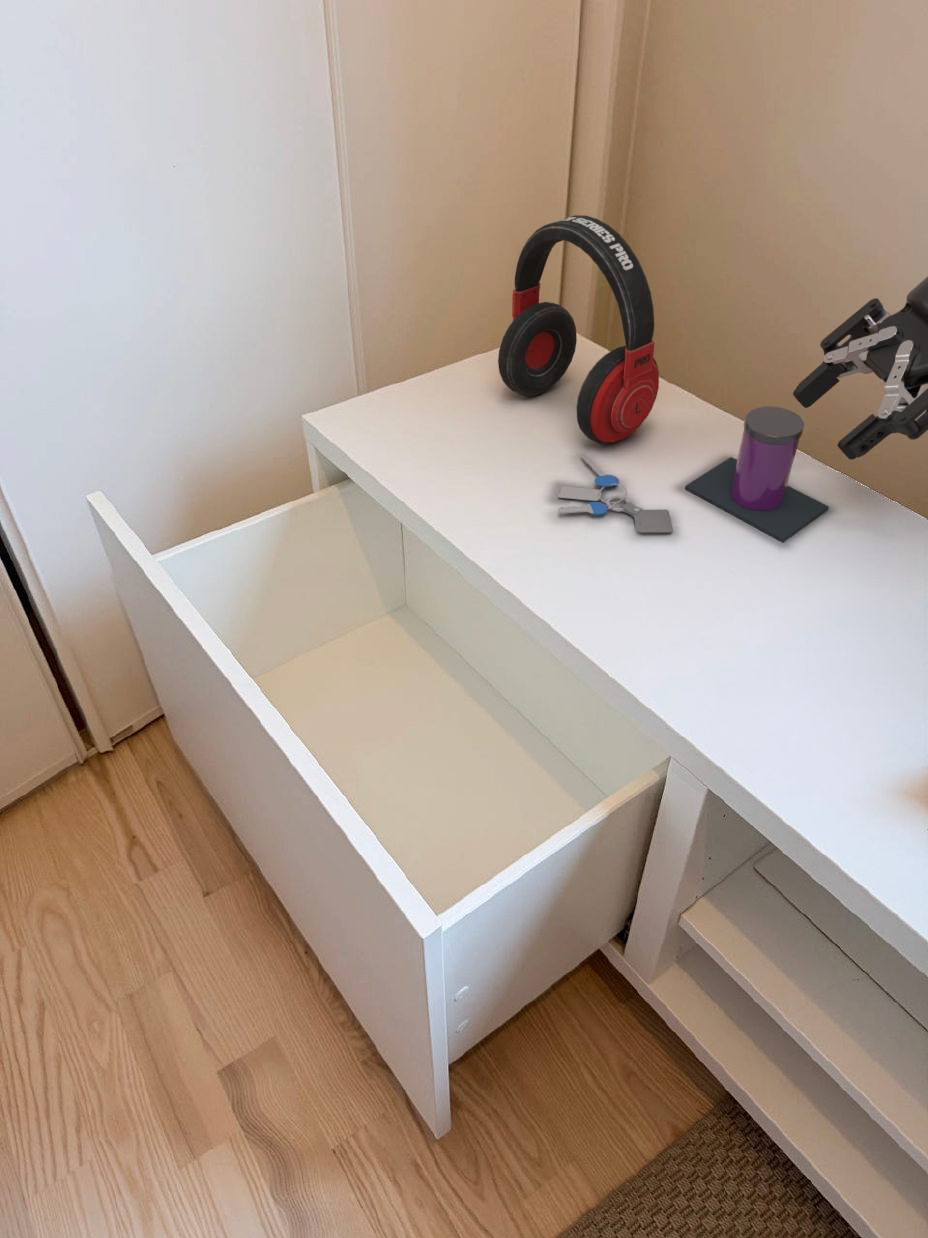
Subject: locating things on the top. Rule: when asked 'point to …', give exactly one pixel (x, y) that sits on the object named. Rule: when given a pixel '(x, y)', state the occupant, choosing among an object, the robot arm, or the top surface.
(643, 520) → the key chain
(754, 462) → the tin
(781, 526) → the mat
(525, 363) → the headphones
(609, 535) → the top surface
